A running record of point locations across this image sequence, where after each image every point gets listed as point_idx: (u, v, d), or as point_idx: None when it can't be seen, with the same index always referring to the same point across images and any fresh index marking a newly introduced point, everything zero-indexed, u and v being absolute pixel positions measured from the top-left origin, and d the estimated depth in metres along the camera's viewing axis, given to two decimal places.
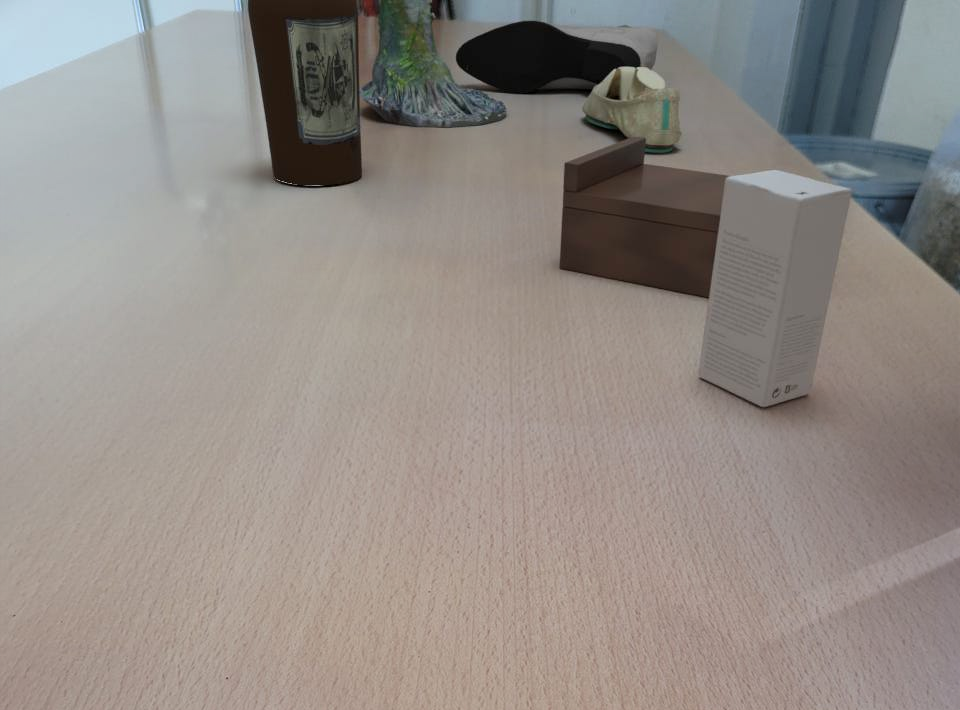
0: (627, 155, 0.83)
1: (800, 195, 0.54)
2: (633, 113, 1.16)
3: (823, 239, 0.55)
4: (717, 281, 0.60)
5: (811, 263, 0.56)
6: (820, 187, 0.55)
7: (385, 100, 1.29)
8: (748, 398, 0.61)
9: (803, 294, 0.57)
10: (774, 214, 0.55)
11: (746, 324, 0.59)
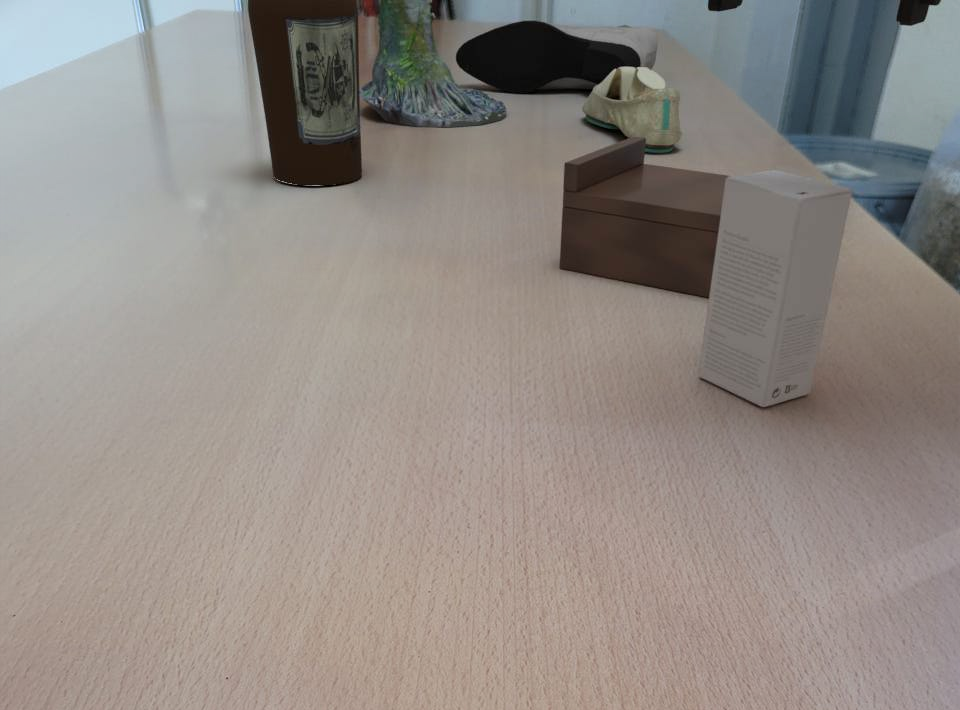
0: (627, 155, 0.83)
1: (800, 195, 0.54)
2: (633, 113, 1.16)
3: (823, 239, 0.55)
4: (717, 281, 0.60)
5: (811, 263, 0.56)
6: (820, 187, 0.55)
7: (385, 100, 1.29)
8: (748, 398, 0.61)
9: (803, 294, 0.57)
10: (774, 214, 0.55)
11: (746, 324, 0.59)
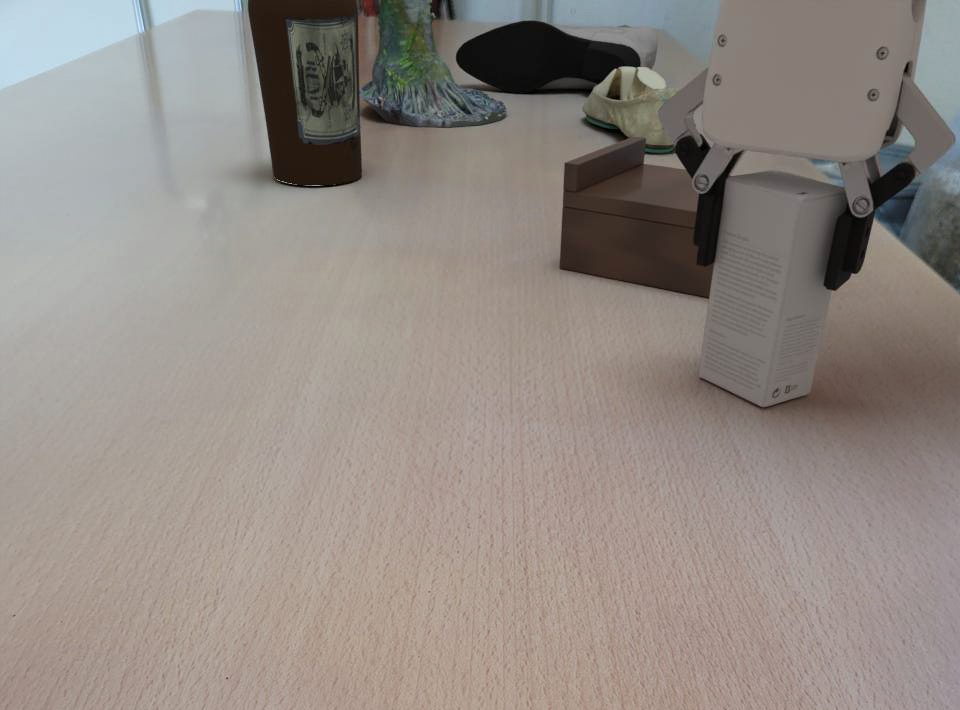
0: (627, 155, 0.83)
1: (801, 195, 0.54)
2: (634, 113, 1.16)
3: (823, 239, 0.55)
4: (717, 281, 0.60)
5: (811, 263, 0.56)
6: (821, 187, 0.55)
7: (385, 100, 1.29)
8: (748, 398, 0.61)
9: (803, 294, 0.57)
10: (775, 214, 0.55)
11: (746, 324, 0.59)
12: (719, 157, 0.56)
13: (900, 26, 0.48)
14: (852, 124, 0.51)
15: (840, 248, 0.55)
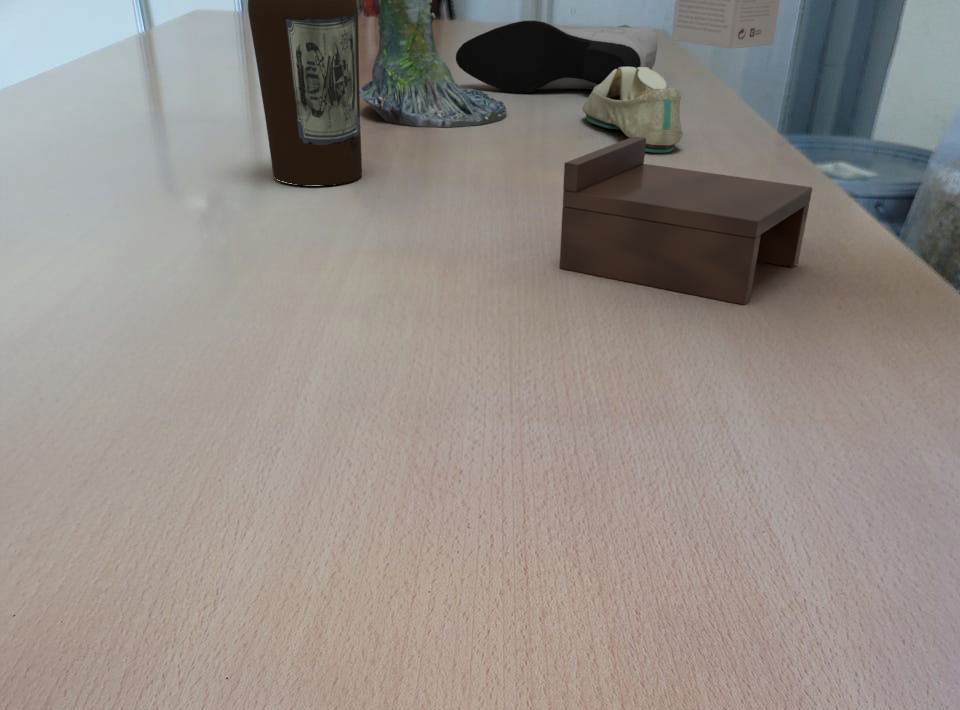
0: (627, 155, 0.83)
1: None
2: (634, 113, 1.16)
3: None
4: None
5: None
6: None
7: (385, 100, 1.29)
8: (717, 43, 0.67)
9: None
10: None
11: None
12: None
13: None
14: None
15: None
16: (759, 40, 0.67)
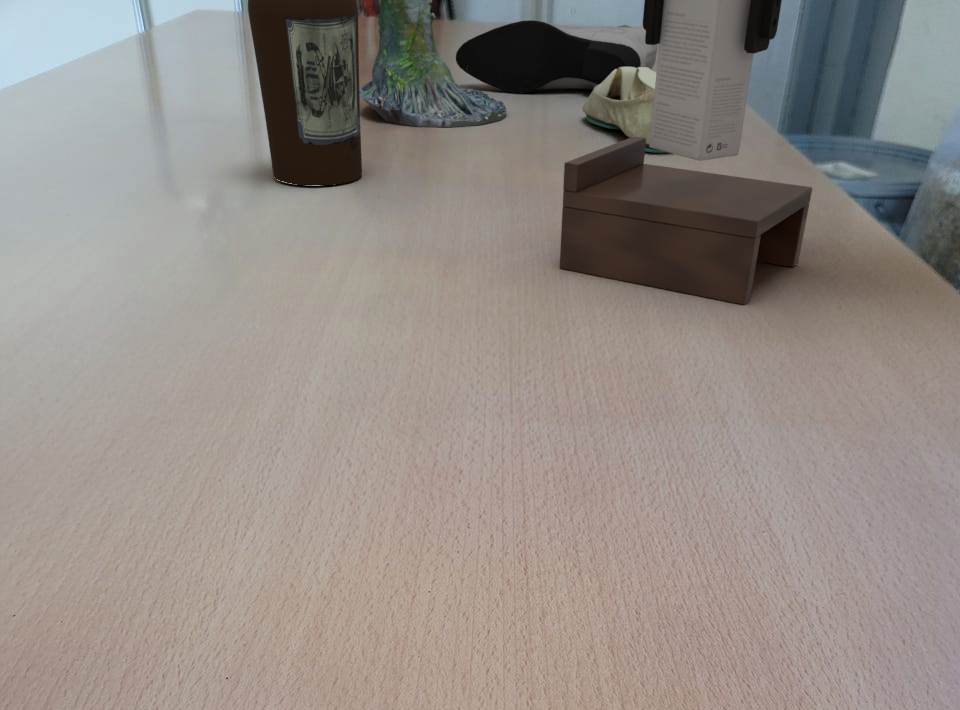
0: (627, 155, 0.83)
1: None
2: (634, 113, 1.16)
3: (743, 10, 0.70)
4: (662, 57, 0.74)
5: (734, 30, 0.70)
6: None
7: (385, 100, 1.29)
8: (687, 155, 0.75)
9: (728, 58, 0.71)
10: None
11: (685, 89, 0.73)
12: None
13: None
14: None
15: (755, 14, 0.69)
16: (726, 152, 0.75)
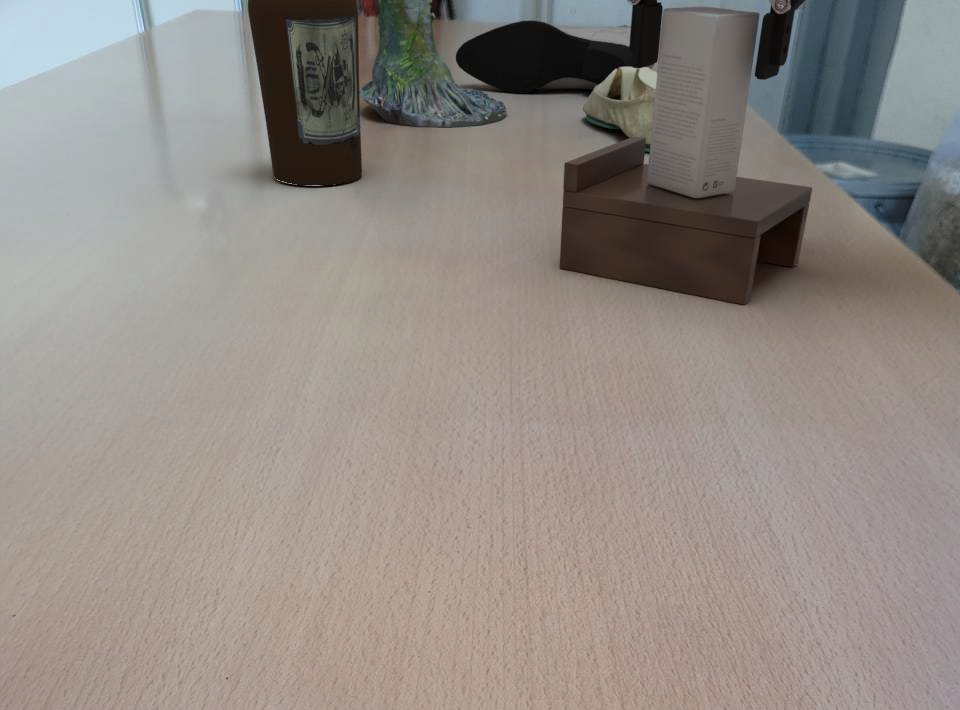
0: (627, 155, 0.83)
1: (718, 14, 0.69)
2: (635, 113, 1.16)
3: (738, 53, 0.71)
4: (659, 97, 0.76)
5: (729, 73, 0.72)
6: (735, 11, 0.71)
7: (385, 100, 1.29)
8: (684, 193, 0.77)
9: (724, 100, 0.73)
10: (699, 32, 0.71)
11: (681, 129, 0.75)
12: None
13: None
14: None
15: (766, 41, 0.69)
16: (722, 190, 0.77)
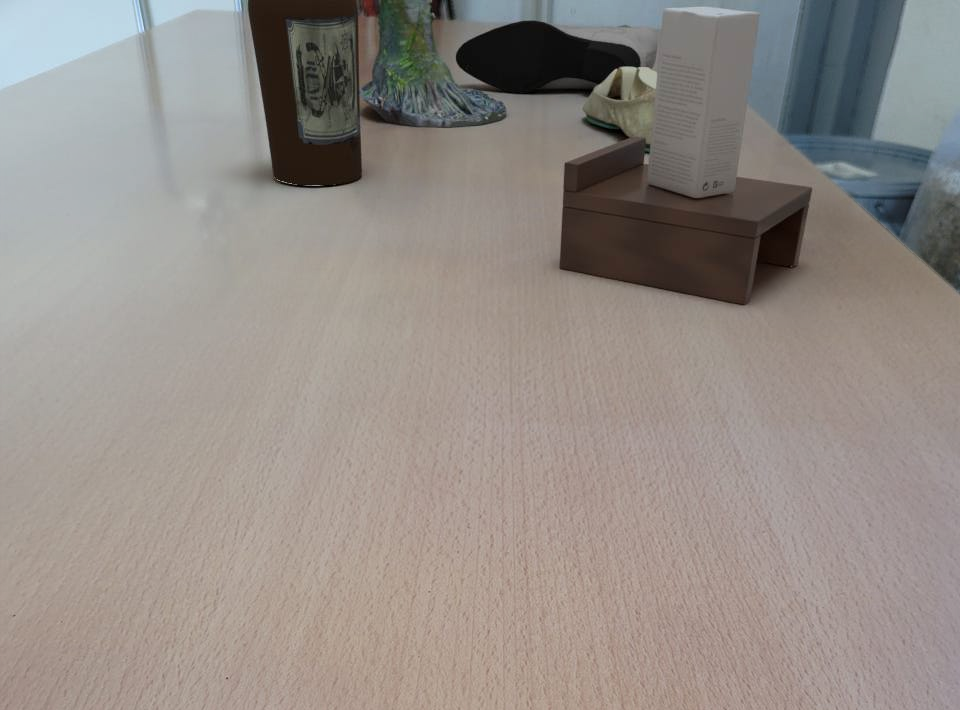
0: (627, 155, 0.83)
1: (718, 14, 0.69)
2: (635, 113, 1.16)
3: (738, 53, 0.71)
4: (659, 97, 0.76)
5: (729, 73, 0.72)
6: (735, 11, 0.71)
7: (385, 100, 1.29)
8: (684, 193, 0.77)
9: (724, 100, 0.73)
10: (699, 32, 0.71)
11: (681, 129, 0.75)
12: None
13: None
14: None
15: None
16: (722, 190, 0.77)
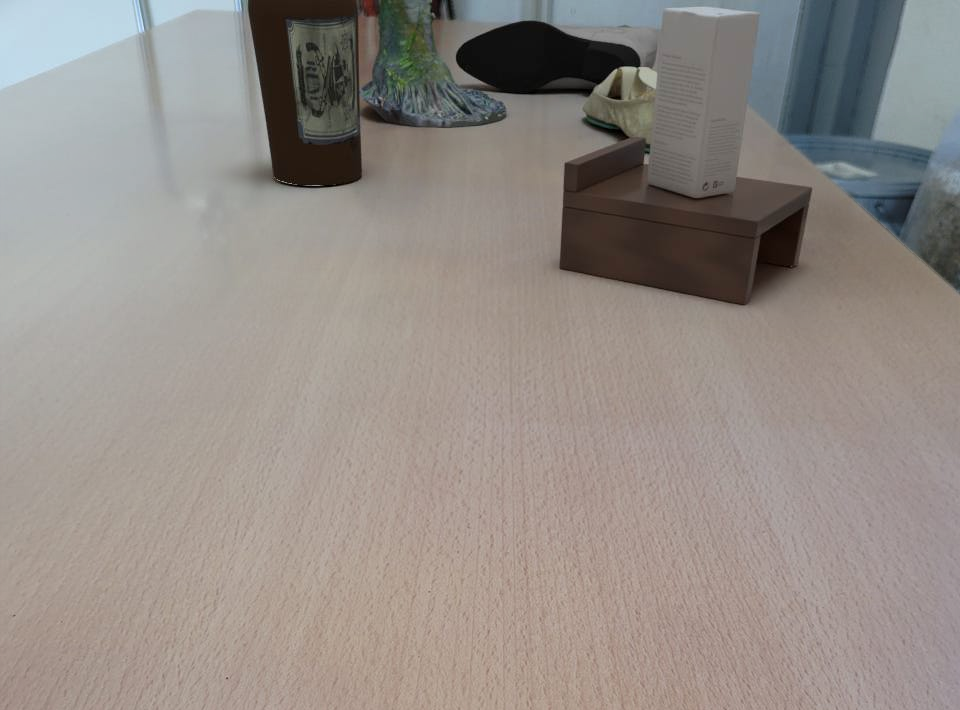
0: (627, 155, 0.83)
1: (718, 14, 0.69)
2: (635, 113, 1.16)
3: (738, 53, 0.71)
4: (659, 97, 0.76)
5: (729, 73, 0.72)
6: (735, 11, 0.71)
7: (385, 100, 1.29)
8: (684, 193, 0.77)
9: (724, 100, 0.73)
10: (699, 32, 0.71)
11: (681, 129, 0.75)
12: None
13: None
14: None
15: None
16: (722, 190, 0.77)
